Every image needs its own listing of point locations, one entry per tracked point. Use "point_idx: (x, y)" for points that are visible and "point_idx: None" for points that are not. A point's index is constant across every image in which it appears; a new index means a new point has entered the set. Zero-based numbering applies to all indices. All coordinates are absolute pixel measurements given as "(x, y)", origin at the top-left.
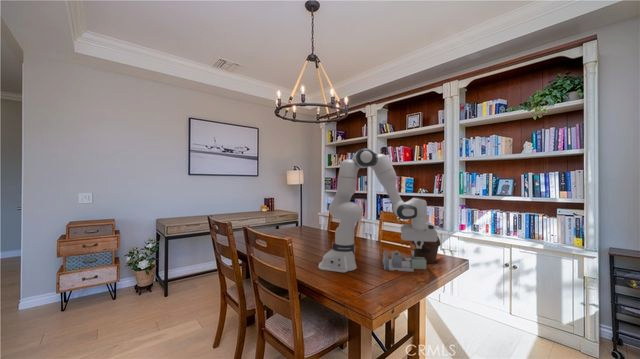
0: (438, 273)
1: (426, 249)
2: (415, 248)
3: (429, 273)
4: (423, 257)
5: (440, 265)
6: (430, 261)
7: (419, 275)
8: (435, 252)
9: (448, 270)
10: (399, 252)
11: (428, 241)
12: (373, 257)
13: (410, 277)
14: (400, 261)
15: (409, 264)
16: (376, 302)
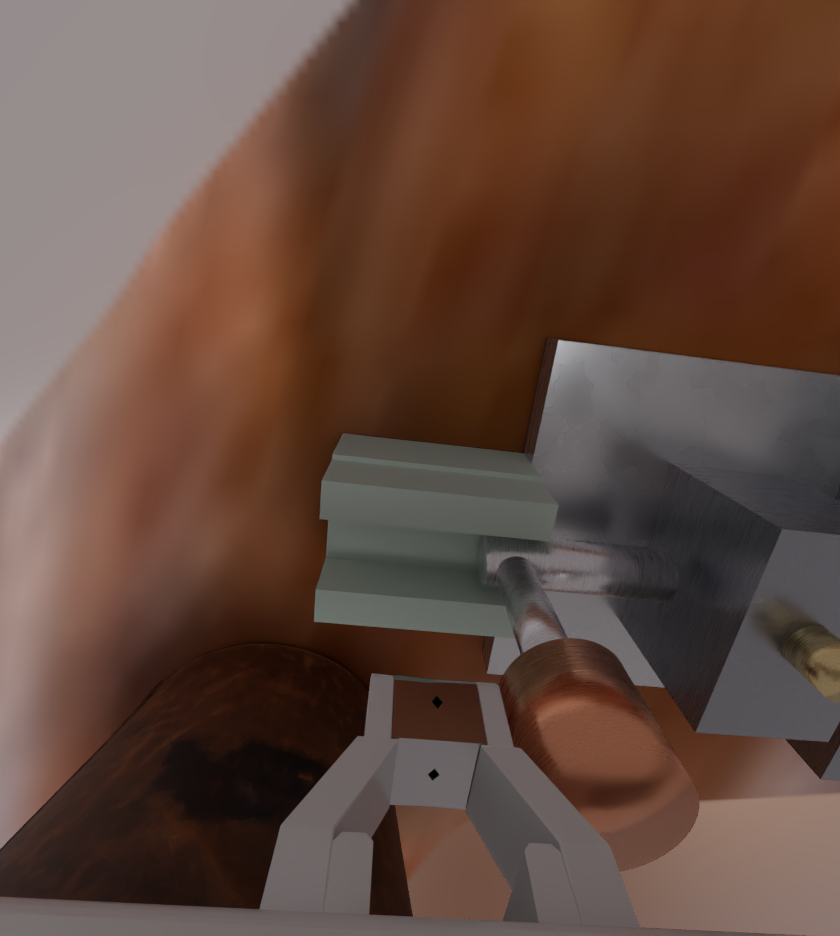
0: (219, 274)
1: (215, 796)
2: (524, 683)
3: (349, 268)
4: (326, 617)
5: (122, 582)
6: (221, 657)
7: (523, 171)
8: (79, 773)
9: (53, 405)
10: (724, 699)
11: (28, 899)
12: (806, 777)
13: (695, 67)
14: (728, 487)
15: None
16: None
